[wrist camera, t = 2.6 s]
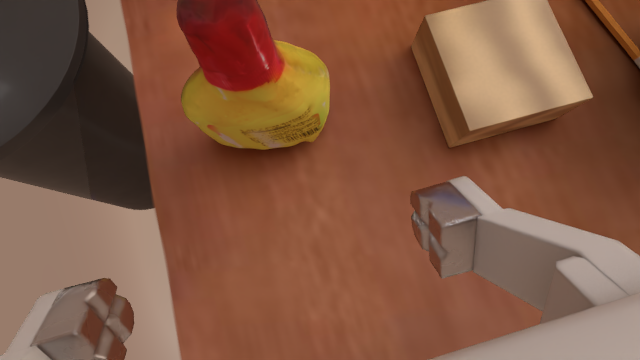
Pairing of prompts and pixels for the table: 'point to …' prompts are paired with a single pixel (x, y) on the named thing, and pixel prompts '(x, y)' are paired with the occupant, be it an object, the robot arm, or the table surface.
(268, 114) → the bottle
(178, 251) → the table surface
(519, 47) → the birch block
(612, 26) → the pencil
